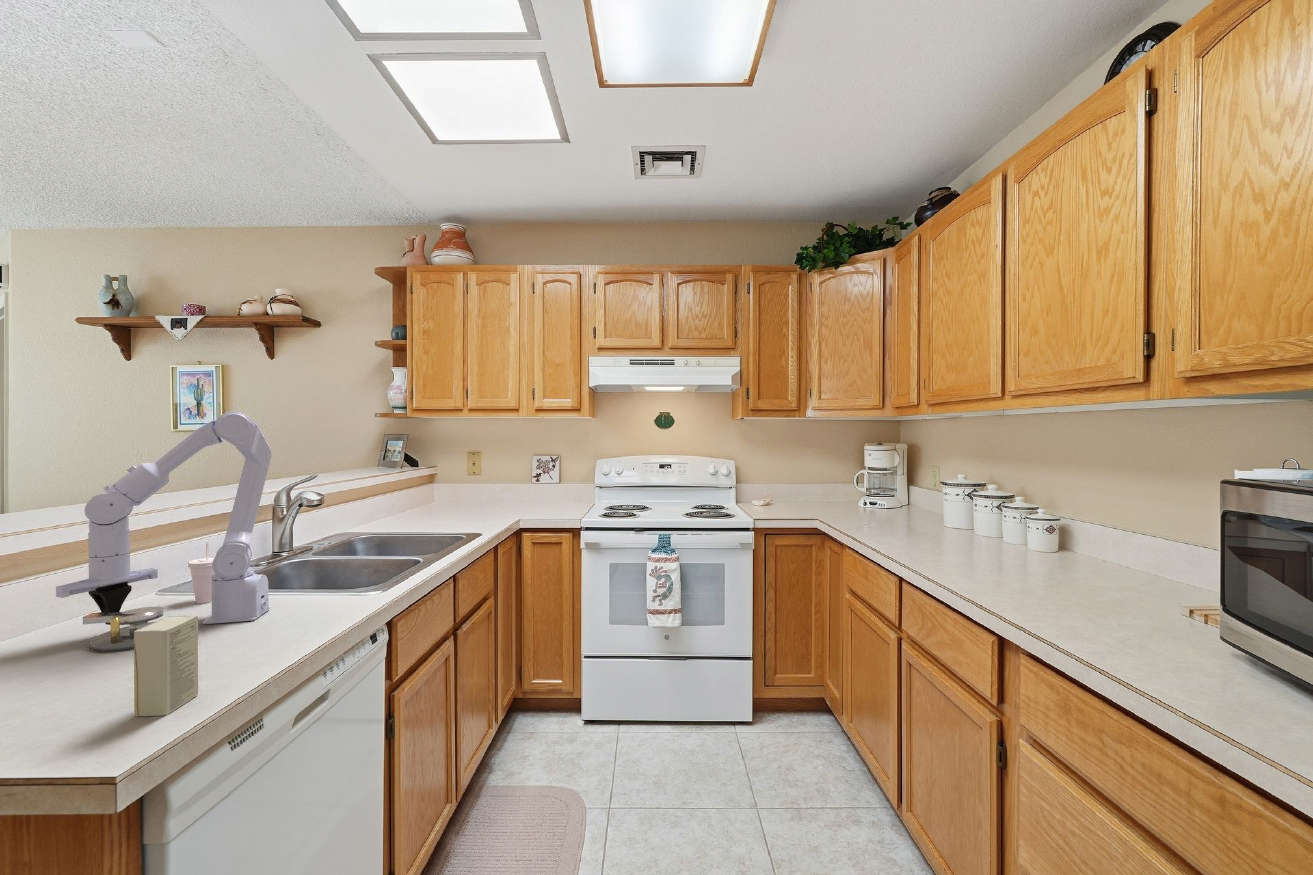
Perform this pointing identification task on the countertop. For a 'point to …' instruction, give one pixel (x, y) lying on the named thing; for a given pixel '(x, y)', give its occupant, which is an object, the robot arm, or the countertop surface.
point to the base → (116, 637)
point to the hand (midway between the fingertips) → (110, 624)
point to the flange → (126, 616)
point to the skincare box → (165, 665)
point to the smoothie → (202, 577)
